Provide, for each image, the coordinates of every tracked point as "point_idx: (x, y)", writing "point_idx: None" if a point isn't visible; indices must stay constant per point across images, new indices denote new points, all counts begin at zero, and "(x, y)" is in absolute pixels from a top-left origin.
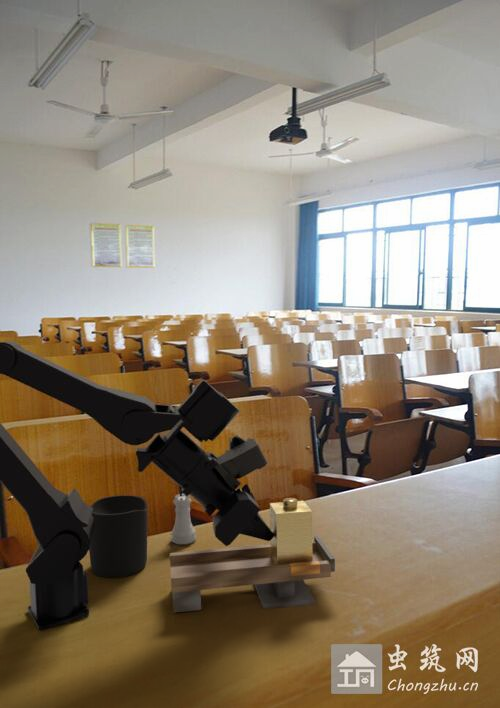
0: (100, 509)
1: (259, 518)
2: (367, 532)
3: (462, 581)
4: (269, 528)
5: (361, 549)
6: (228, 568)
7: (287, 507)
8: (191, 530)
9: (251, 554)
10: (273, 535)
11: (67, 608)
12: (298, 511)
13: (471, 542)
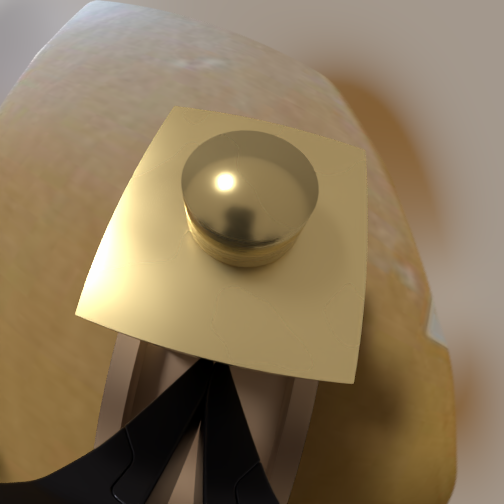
0: None
1: (268, 485)
2: (106, 94)
3: (311, 88)
4: (200, 378)
5: (146, 120)
6: (189, 491)
7: (287, 247)
8: None
9: (131, 401)
10: (228, 368)
11: None
12: (355, 209)
13: (221, 39)
